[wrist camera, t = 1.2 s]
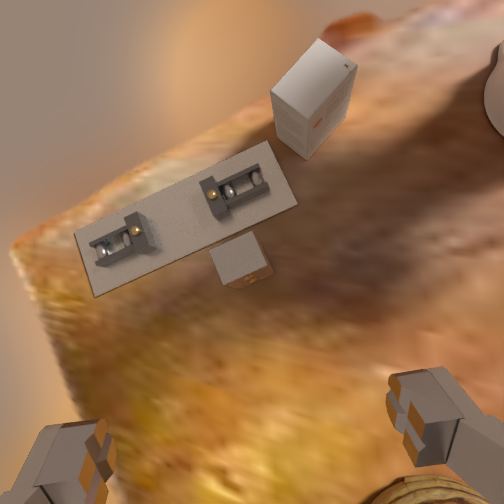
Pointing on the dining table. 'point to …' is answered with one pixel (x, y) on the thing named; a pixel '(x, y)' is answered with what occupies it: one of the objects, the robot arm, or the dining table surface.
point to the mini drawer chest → (241, 261)
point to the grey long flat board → (184, 218)
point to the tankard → (430, 492)
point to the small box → (312, 98)
